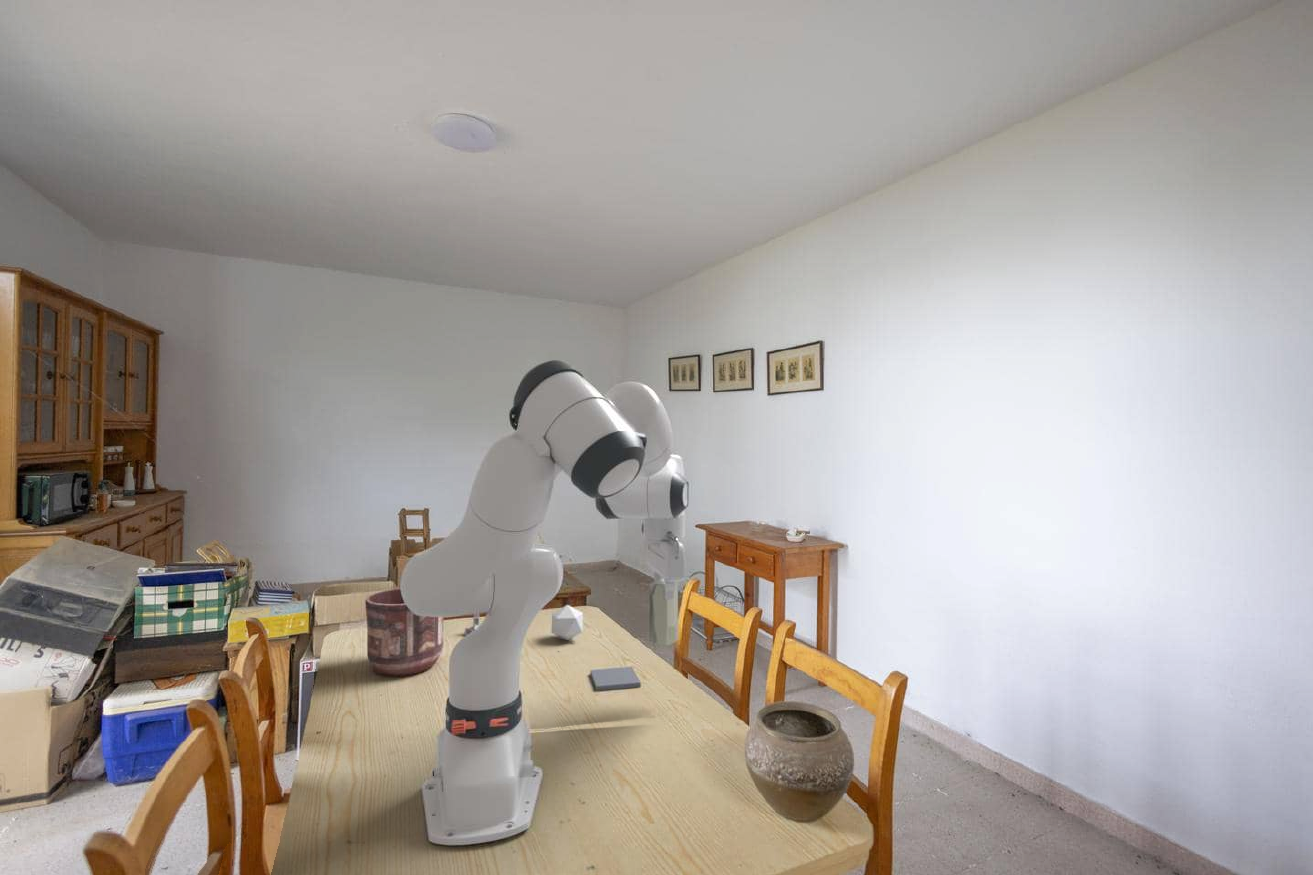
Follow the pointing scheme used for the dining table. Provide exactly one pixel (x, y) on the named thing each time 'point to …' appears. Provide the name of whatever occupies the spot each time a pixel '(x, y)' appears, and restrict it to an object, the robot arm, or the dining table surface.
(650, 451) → the robot arm
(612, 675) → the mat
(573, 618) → the die
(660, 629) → the box
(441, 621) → the pottery
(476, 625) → the house of cards
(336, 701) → the dining table surface
